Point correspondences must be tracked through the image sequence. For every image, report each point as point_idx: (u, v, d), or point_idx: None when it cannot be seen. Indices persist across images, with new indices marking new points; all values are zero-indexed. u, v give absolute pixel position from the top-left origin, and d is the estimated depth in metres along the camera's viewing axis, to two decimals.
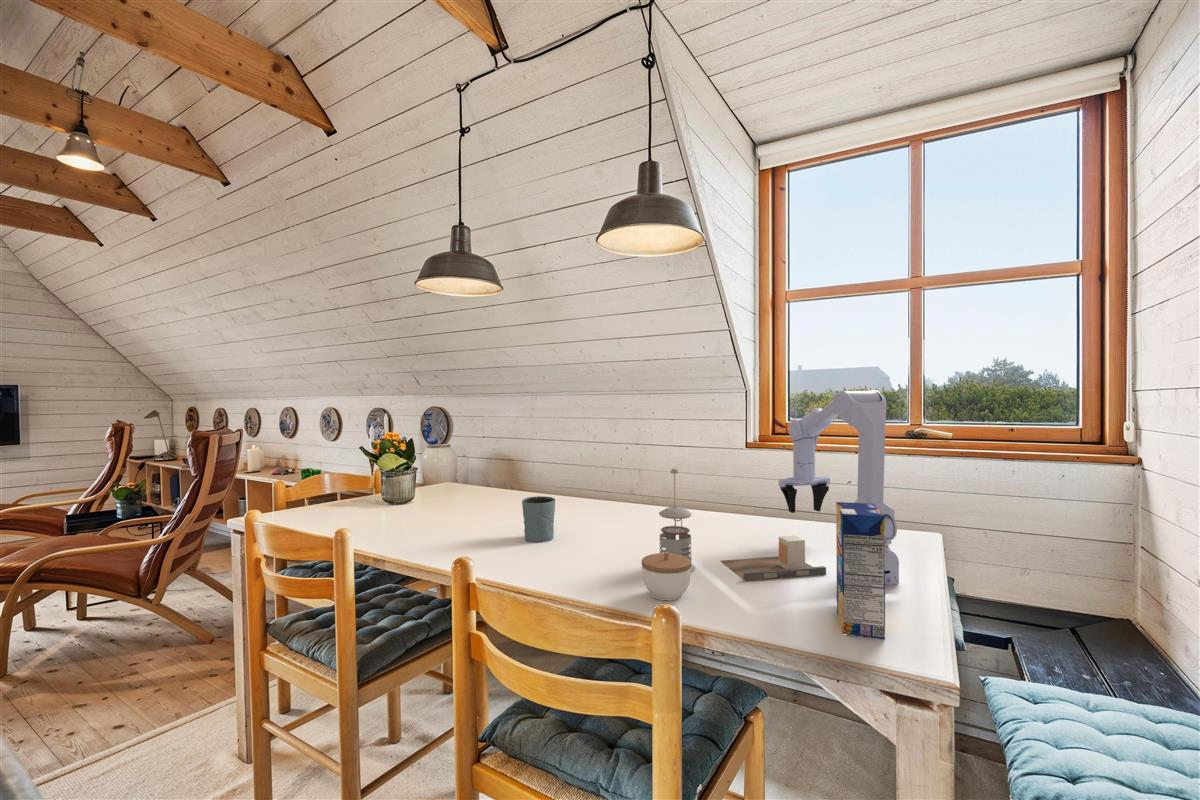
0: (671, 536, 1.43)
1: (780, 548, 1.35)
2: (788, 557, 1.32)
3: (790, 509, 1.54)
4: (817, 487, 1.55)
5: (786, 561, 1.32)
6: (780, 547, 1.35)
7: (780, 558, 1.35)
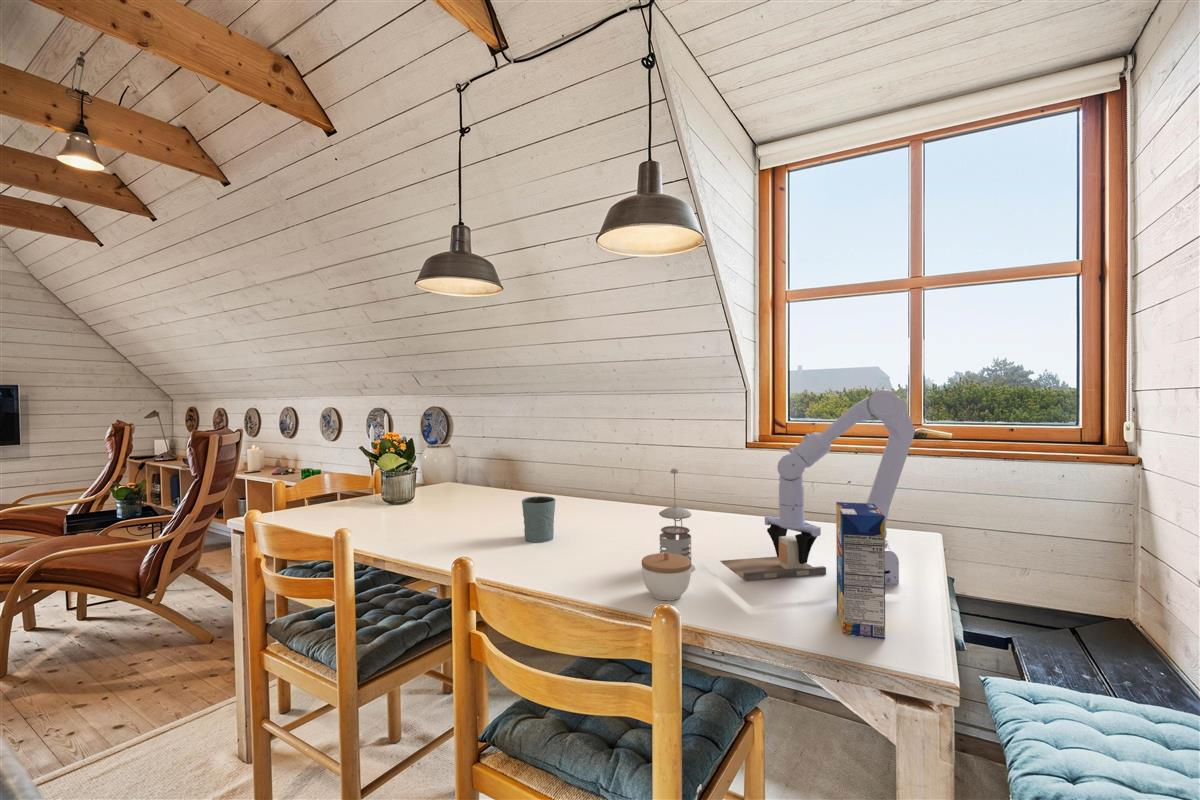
0: (671, 536, 1.43)
1: (780, 548, 1.35)
2: (788, 557, 1.32)
3: None
4: None
5: (786, 561, 1.32)
6: (780, 547, 1.35)
7: (780, 558, 1.35)
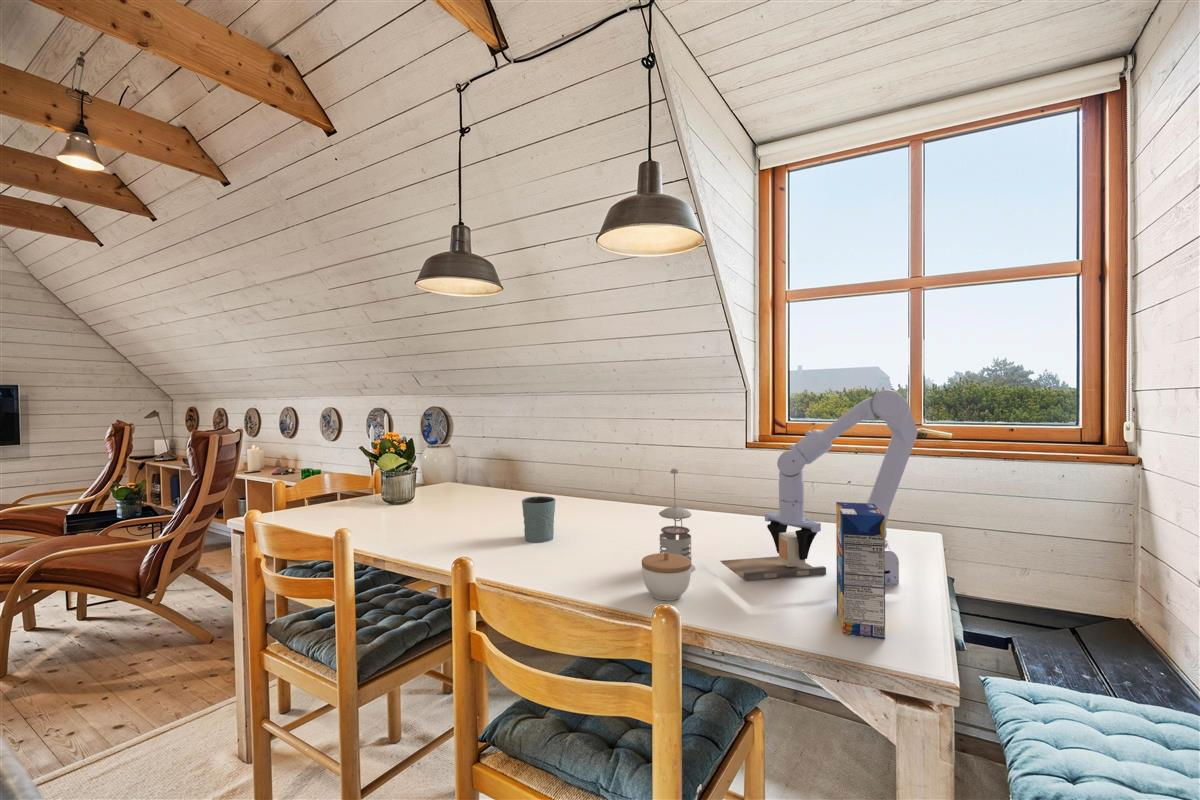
0: (671, 536, 1.43)
1: (780, 544, 1.35)
2: (788, 553, 1.32)
3: None
4: None
5: (786, 557, 1.32)
6: (780, 543, 1.35)
7: (780, 554, 1.35)
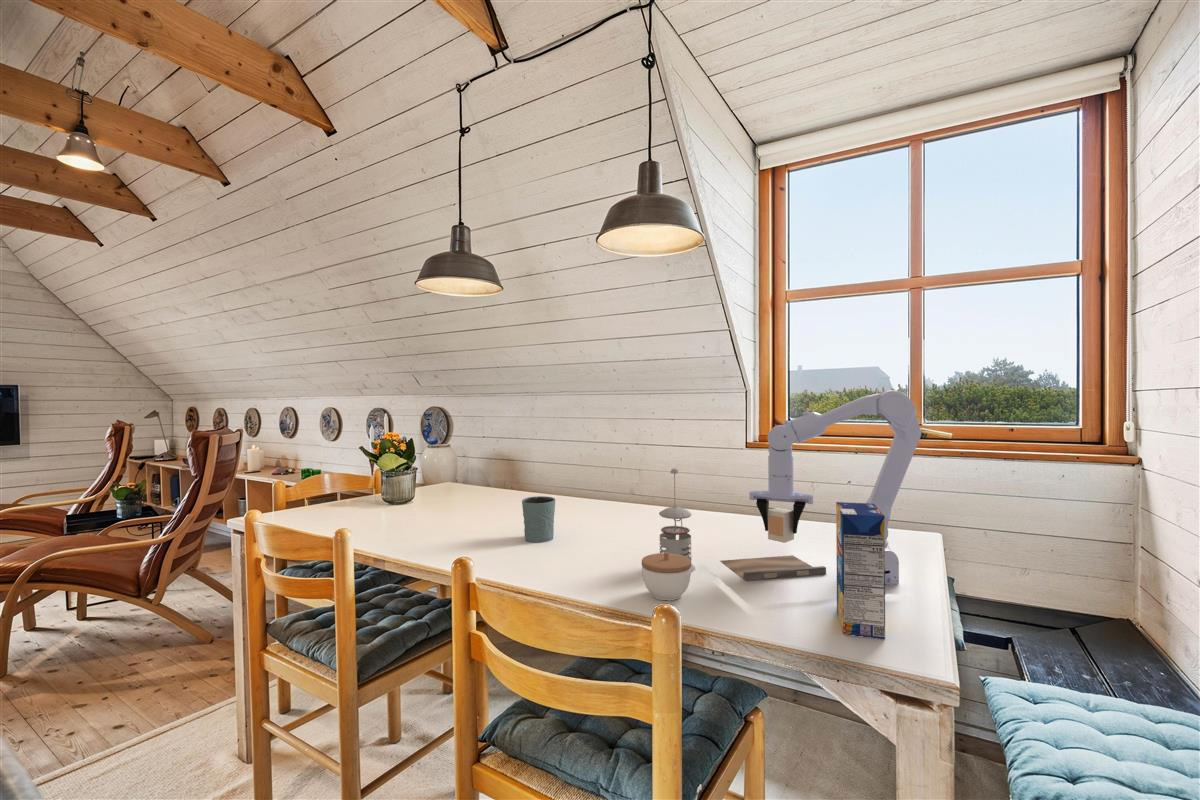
0: (671, 536, 1.43)
1: (772, 522, 1.33)
2: (785, 529, 1.31)
3: None
4: None
5: (782, 533, 1.31)
6: (772, 521, 1.33)
7: (772, 532, 1.33)
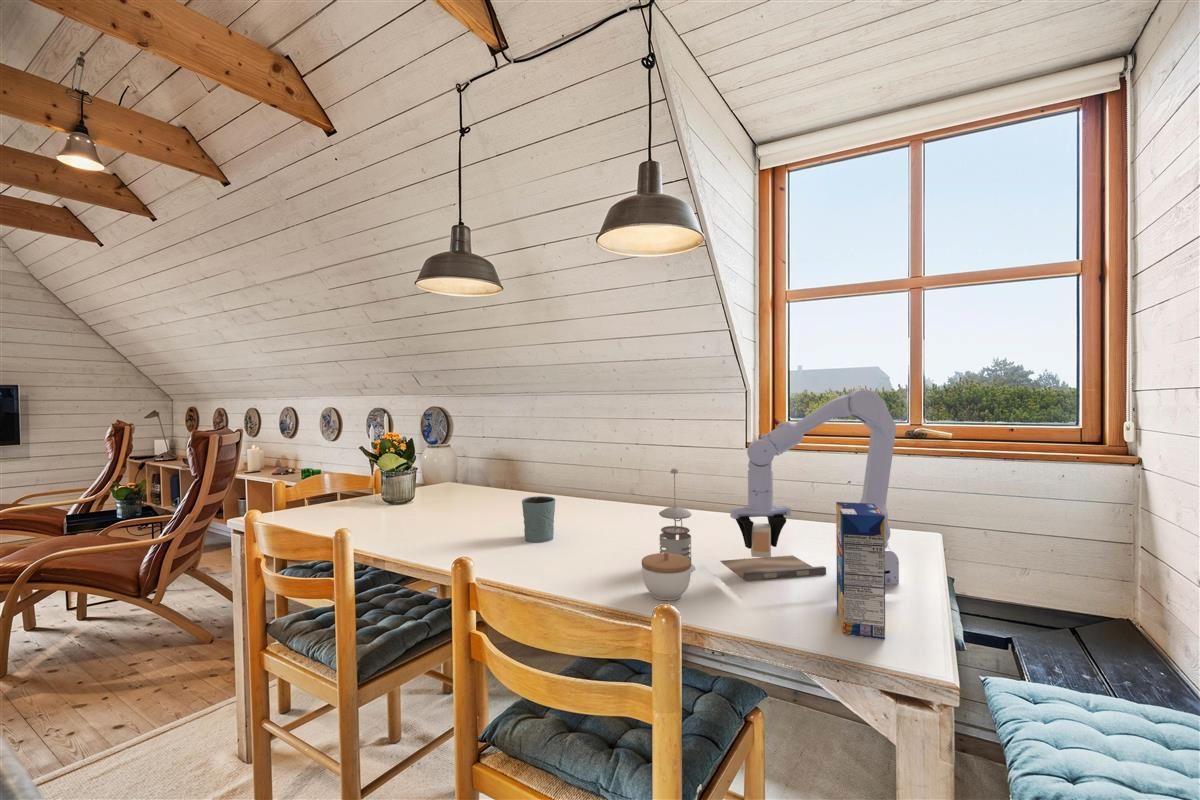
0: (671, 536, 1.43)
1: (757, 538, 1.31)
2: (770, 544, 1.31)
3: (746, 544, 1.32)
4: (773, 519, 1.33)
5: (768, 549, 1.30)
6: (757, 537, 1.31)
7: (757, 549, 1.31)
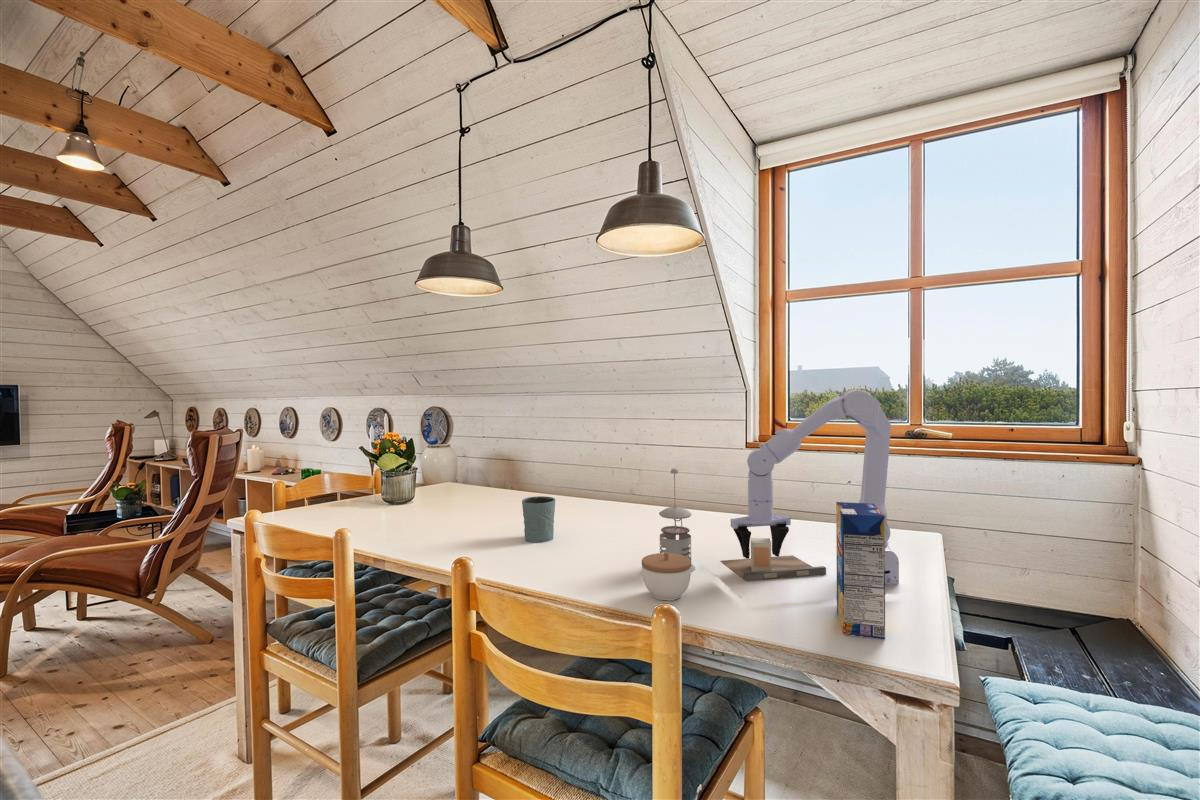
0: (671, 536, 1.43)
1: (758, 553, 1.31)
2: None
3: (744, 554, 1.32)
4: (776, 528, 1.33)
5: (769, 564, 1.30)
6: (758, 552, 1.31)
7: (757, 564, 1.31)
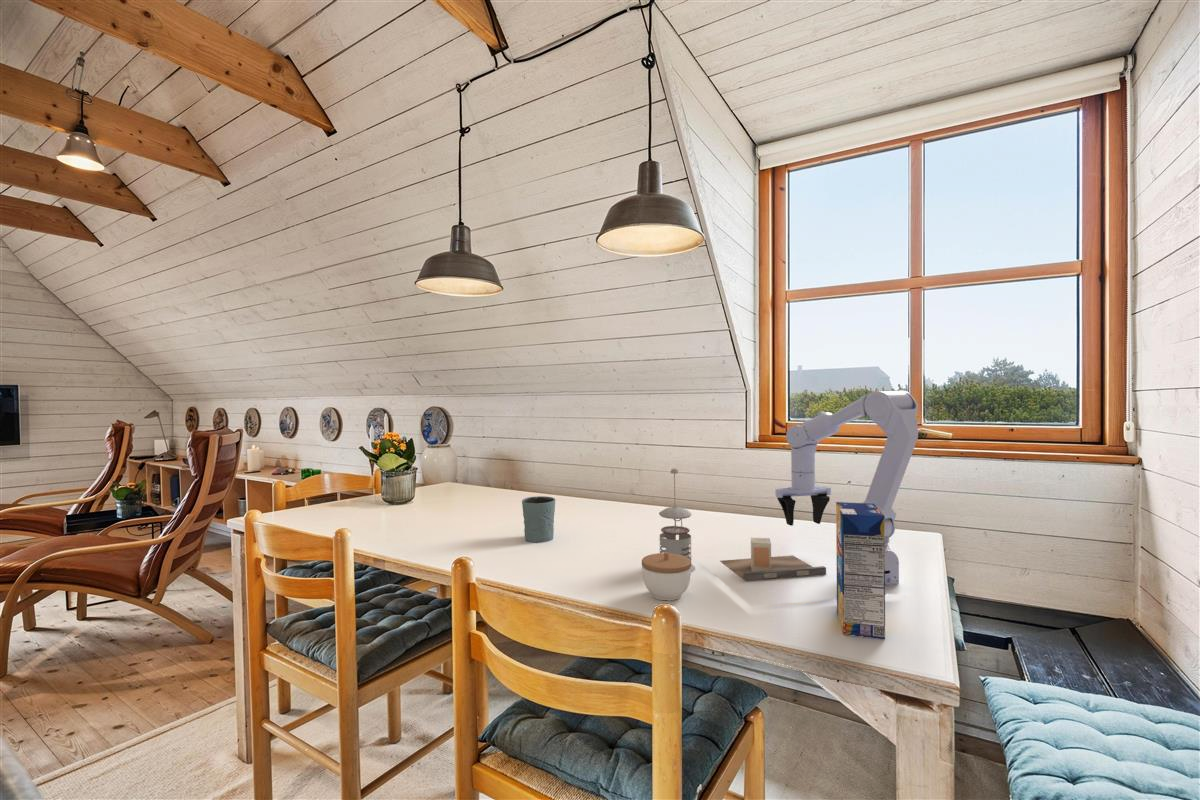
0: (671, 536, 1.43)
1: (758, 553, 1.31)
2: None
3: (788, 521, 1.43)
4: (817, 498, 1.44)
5: (769, 564, 1.30)
6: (758, 552, 1.31)
7: (757, 564, 1.31)
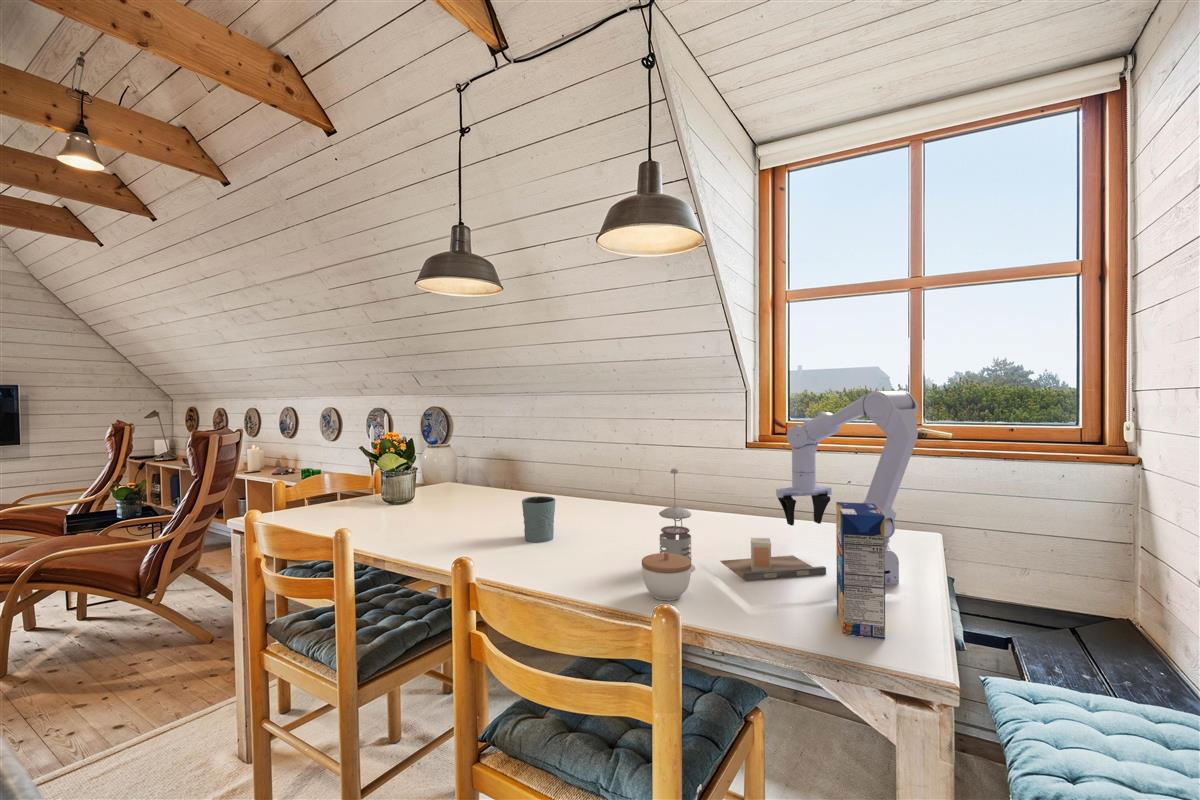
0: (671, 536, 1.43)
1: (758, 553, 1.31)
2: None
3: (789, 521, 1.43)
4: (818, 497, 1.44)
5: (769, 564, 1.30)
6: (758, 552, 1.31)
7: (757, 564, 1.31)
